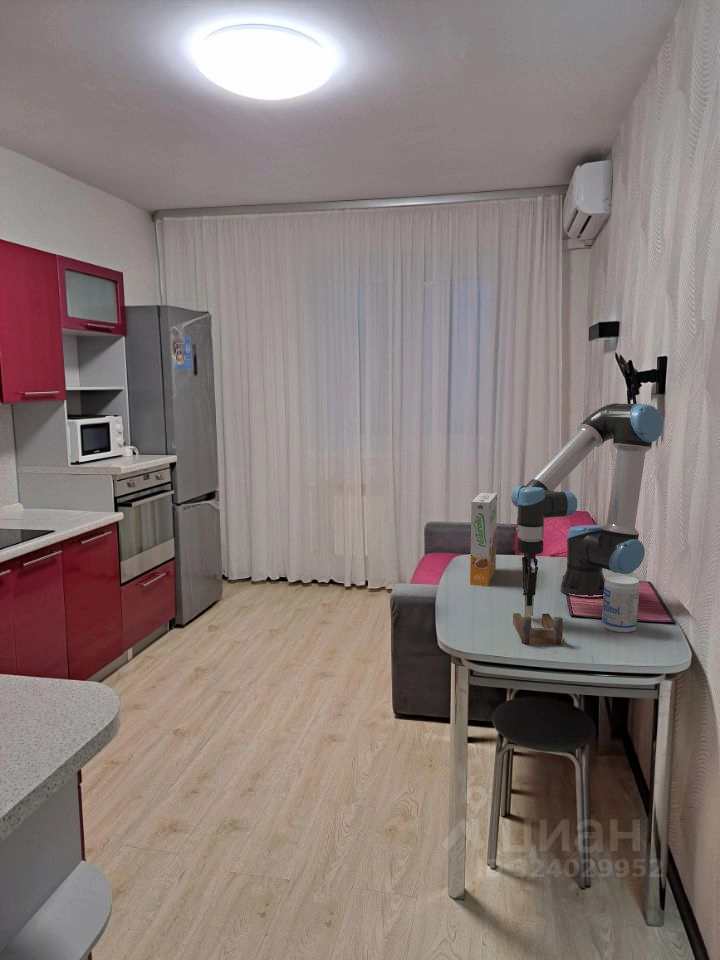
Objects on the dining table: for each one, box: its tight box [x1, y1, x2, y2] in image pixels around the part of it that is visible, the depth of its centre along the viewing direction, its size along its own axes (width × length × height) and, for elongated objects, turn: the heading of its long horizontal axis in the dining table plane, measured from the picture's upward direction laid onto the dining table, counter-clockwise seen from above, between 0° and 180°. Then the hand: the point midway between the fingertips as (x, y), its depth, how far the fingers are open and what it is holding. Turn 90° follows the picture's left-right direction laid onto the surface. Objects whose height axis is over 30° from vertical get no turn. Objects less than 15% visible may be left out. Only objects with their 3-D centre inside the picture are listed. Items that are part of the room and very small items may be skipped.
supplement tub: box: [601, 574, 640, 633], centre depth 202 cm, size 10×10×15 cm
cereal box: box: [469, 492, 498, 587], centre depth 256 cm, size 22×6×30 cm, turn 162°
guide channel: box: [512, 612, 564, 646], centre depth 198 cm, size 11×18×7 cm, turn 177°
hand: (528, 615), depth 211 cm, fingers closed
